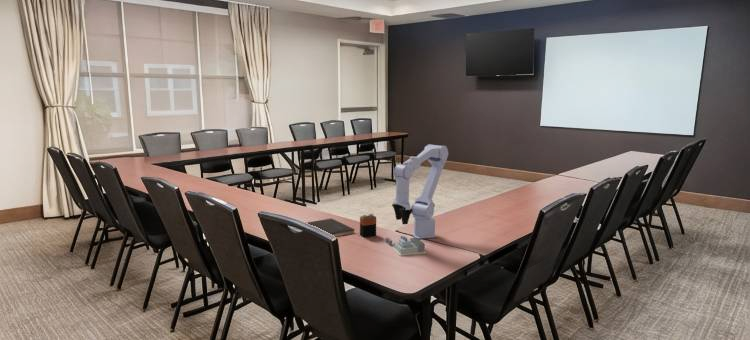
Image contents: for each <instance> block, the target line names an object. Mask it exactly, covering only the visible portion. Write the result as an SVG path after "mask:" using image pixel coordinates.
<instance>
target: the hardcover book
mask: <svg viewBox="0 0 750 340" xmlns="http://www.w3.org/2000/svg"><path fill="white" fill-rule="evenodd" d="M306 223H308V224H310V225H313V226H316V227H318V228H320V229H322V230H324V231H326V232H328V233H330V234H332V235H334V236H335V237H340V236H345V235H351V234H354V233H355V230H356V229H354V228H353V227H351V226H349V225H346V224H344V223H342V222H340V221H338V220H336V219H334V218H326V219H320V220H315V221H308V222H306Z"/></svg>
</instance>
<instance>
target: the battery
mask: <svg viewBox="0 0 750 340" xmlns="http://www.w3.org/2000/svg"><path fill="white" fill-rule="evenodd" d="M359 235H360V236H361V237H363V238H367V237H368V236H369V237H375V236H377V216H375V215H374V213H369V214H368V215H366V214H364V215H361V216H360V217H359ZM369 237H368V238H369Z"/></svg>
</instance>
